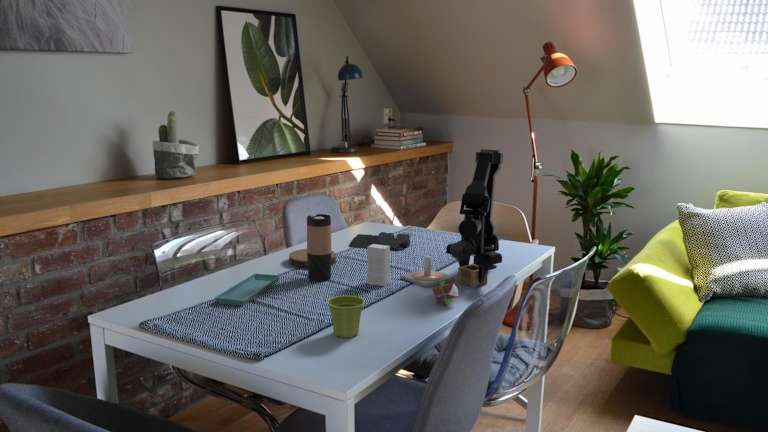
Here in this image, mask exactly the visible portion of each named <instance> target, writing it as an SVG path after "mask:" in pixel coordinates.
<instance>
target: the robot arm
mask: <svg viewBox="0 0 768 432" xmlns="http://www.w3.org/2000/svg"><path fill="white" fill-rule="evenodd" d="M474 160H475V161H474V162H475V164H476V165H475V169H474V173H473V177H472V180H471V183H470V184H468V185H467V186H466V188H465V191H464V193H463V194H462V196H461V204H460V209H459V215H462V216H463V215H464V216H463V217H464V218H463V220H462V221H461V222H460V223H459V225H458V227H457V228H458V233H459V235H460V236H461V237H460V238H461V239H460V240H459V241H456V242H453V243H448V244H447V246H446V247H445V249H446V250H445V253H446V254H448V255H451V257H452V258H454V259H455V261H457V263H458V267H462V266H466V265H470V261H471V257H473V261H472V262H473V263H472V264H475V265H478V267H479V283H482V282H483V280H484V278H485V276H486V274H487V272H489V271H490V270H491V269H494V268H498V267H497V264H501V263H503V255H502V254H501V253H500V252H498V251H499V250H500V248H499V247H500V243H499V242H500V241H499V240H500V239H499V238H498V233H496V227H495V225H494V223H493V208H494V207H493V206H494V194H495V193H494V191H495V183H496V182H495V181H496V180H495V179H496V177H497V175H498V173H499V172H500V171H501V167H502V166H501V165H503V164H504V153H502V152H501V151H500V149H487V148H486V149H485V148H484V149H483V148H481V149H480V151H475V158H474Z"/></svg>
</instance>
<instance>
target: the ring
mask: <svg viewBox="0 0 768 432" xmlns="http://www.w3.org/2000/svg"><path fill="white" fill-rule="evenodd" d="M488 272H489V271H488ZM488 272H487V274H486V276H485V278H484V280H483V282H482V283H479V267H478V265H475V264H473V263H469V265H466V266H462V267H460V266H458V271H457V283H458V284H460V285H463V286H465V287H469V288H477V287H481V286H484V285H487V284H488V274H489V273H488Z"/></svg>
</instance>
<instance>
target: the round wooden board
mask: <svg viewBox="0 0 768 432" xmlns="http://www.w3.org/2000/svg"><path fill="white" fill-rule="evenodd" d="M288 257H289V260H288V263H289V265H290V266H292V267H295V268H300V269H308V261H307V248H301V249H298V250H297V249H296V250H293V251H291V252H290V253H289V254H288ZM336 263H337V254H336V252H335V251H333V250H332V252H331V266H333V265H335V264H336Z"/></svg>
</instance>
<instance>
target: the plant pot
mask: <svg viewBox="0 0 768 432" xmlns="http://www.w3.org/2000/svg"><path fill="white" fill-rule="evenodd" d="M365 303H366V300H365V299H364V298H362V297H359V296H354V295H337V296H333V297H331V298H328V299H327V301H326V304H327V305H328V308H329V310H330V315H331V322H332V328H333V335H334V336H335V337H336V336H338V337H340V338H343V339H349V338H353V337H355V336H358V335H359V328H360V322H361V316H362V310H363V307H364V305H365Z"/></svg>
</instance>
